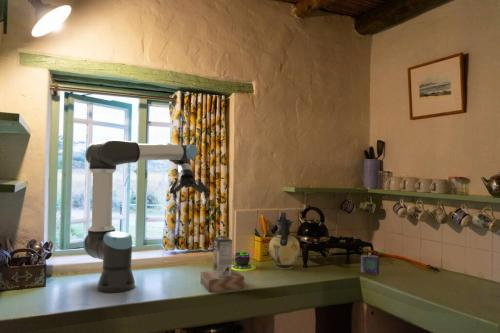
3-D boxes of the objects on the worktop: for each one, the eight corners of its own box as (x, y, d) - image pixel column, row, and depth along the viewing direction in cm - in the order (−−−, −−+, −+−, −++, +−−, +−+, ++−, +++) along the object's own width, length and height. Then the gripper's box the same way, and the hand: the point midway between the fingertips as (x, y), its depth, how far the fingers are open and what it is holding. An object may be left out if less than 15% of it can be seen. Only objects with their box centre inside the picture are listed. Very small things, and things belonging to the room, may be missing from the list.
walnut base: (208, 292, 149) (208, 280, 150) (200, 283, 162) (200, 272, 163) (243, 288, 155) (244, 276, 156) (233, 279, 168) (233, 269, 169)
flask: (361, 273, 185) (361, 252, 185) (360, 272, 188) (360, 251, 188) (379, 274, 183) (379, 253, 184) (378, 273, 186) (378, 252, 186)
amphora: (267, 263, 204) (267, 211, 205) (296, 263, 205) (296, 211, 206) (270, 271, 186) (271, 213, 188) (302, 271, 187) (302, 214, 188)
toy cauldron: (237, 263, 204) (238, 244, 204) (260, 266, 196) (261, 246, 196) (222, 268, 191) (223, 248, 191) (246, 272, 183) (247, 251, 183)
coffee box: (212, 272, 162) (213, 236, 163) (225, 271, 165) (226, 236, 165) (217, 277, 154) (218, 240, 154) (231, 276, 156) (232, 239, 157)
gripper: (206, 178, 201) (213, 207, 187) (162, 178, 192) (165, 207, 178) (209, 169, 197) (216, 197, 182) (163, 168, 187) (167, 197, 173)
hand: (191, 202), depth 180 cm, fingers open, 13 cm apart
